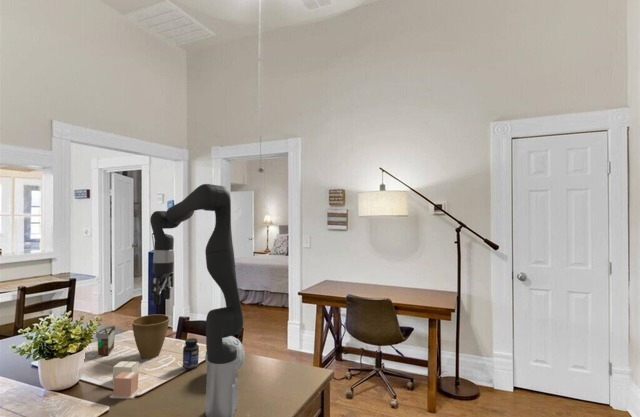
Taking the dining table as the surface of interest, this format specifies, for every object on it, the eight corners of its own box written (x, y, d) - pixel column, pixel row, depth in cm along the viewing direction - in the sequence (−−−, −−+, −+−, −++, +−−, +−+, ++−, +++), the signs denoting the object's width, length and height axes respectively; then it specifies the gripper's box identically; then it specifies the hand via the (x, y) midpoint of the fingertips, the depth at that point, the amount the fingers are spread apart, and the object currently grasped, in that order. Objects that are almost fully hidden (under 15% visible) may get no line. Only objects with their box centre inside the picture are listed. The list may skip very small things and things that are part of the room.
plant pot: (132, 351, 157) (134, 316, 157) (168, 347, 162) (169, 313, 163) (128, 364, 143) (130, 326, 143) (167, 359, 149) (168, 322, 149)
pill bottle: (192, 370, 139) (193, 343, 139) (179, 369, 140) (180, 341, 140) (201, 364, 145) (202, 338, 145) (188, 362, 146) (188, 336, 146)
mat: (141, 389, 123) (141, 388, 123) (132, 398, 117) (132, 397, 117) (119, 389, 123) (119, 388, 123) (109, 398, 117) (109, 396, 117)
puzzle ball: (196, 377, 134) (197, 338, 134) (225, 363, 147) (226, 327, 147) (224, 387, 126) (225, 346, 126) (252, 372, 139) (253, 334, 139)
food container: (99, 347, 160) (100, 326, 160) (114, 346, 162) (115, 325, 162) (90, 358, 148) (91, 335, 148) (107, 357, 150) (108, 334, 150)
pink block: (137, 389, 122) (138, 372, 122) (130, 396, 118) (131, 378, 118) (121, 389, 122) (121, 371, 122) (113, 395, 118) (114, 377, 118)
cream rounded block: (138, 377, 132) (138, 361, 132) (131, 383, 127) (132, 367, 127) (120, 377, 132) (120, 361, 132) (112, 383, 127) (113, 366, 127)
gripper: (164, 263, 130) (163, 306, 130) (180, 258, 145) (178, 297, 144) (145, 263, 130) (143, 306, 130) (162, 258, 145) (161, 297, 144)
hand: (162, 301), depth 137 cm, fingers open, 8 cm apart
